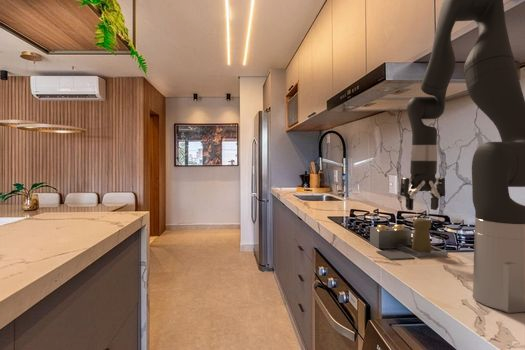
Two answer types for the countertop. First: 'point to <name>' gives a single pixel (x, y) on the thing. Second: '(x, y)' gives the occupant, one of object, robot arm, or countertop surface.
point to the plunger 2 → (399, 227)
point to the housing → (400, 242)
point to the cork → (421, 235)
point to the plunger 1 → (381, 227)
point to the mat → (395, 255)
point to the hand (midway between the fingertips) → (422, 209)
